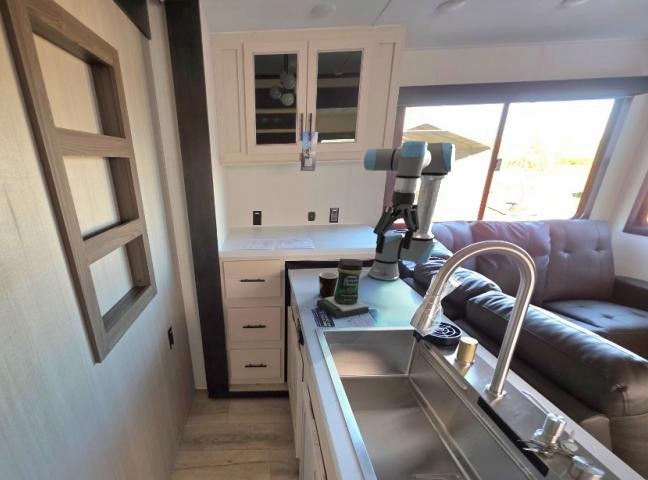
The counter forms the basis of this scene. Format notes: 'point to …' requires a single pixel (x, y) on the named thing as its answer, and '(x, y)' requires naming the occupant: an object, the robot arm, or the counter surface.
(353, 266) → the coffee jar
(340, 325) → the counter surface
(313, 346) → the counter surface
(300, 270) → the counter surface
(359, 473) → the counter surface
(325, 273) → the coffee mug
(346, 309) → the kitchen scale
